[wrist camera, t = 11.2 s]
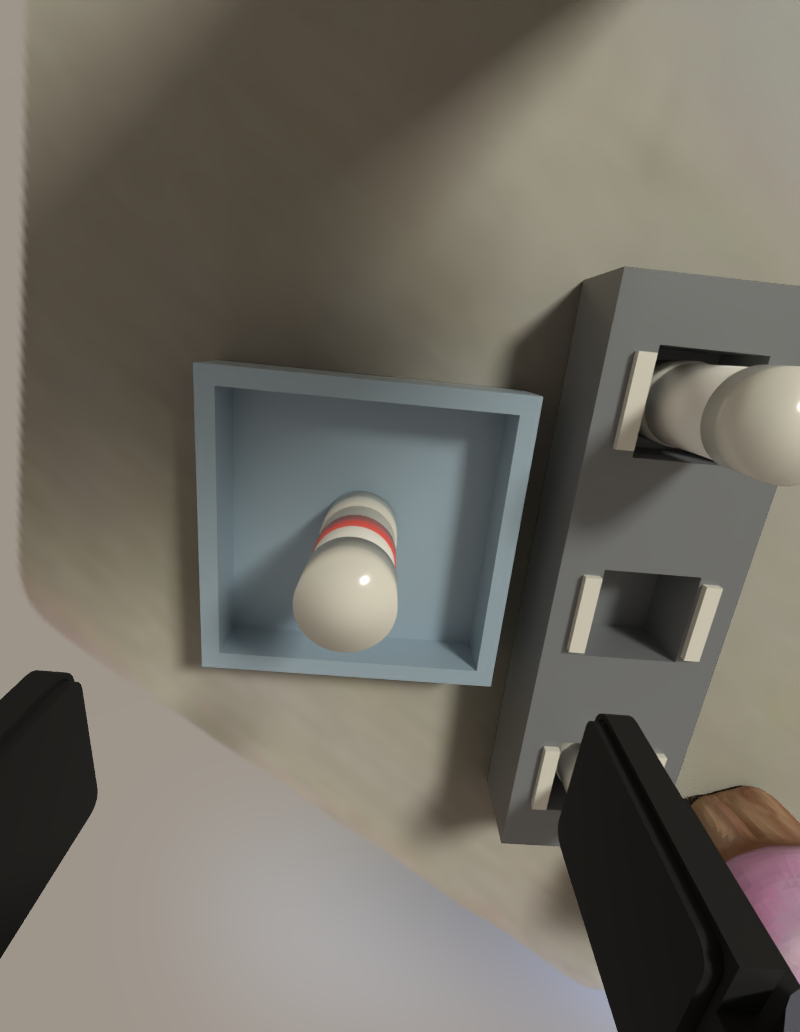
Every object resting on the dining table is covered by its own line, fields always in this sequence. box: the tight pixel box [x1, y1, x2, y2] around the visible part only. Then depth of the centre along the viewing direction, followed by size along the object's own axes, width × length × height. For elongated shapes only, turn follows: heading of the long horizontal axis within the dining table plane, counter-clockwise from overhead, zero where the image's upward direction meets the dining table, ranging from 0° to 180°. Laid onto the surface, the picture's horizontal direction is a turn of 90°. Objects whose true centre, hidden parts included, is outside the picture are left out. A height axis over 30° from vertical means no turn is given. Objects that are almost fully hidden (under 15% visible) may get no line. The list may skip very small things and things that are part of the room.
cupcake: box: [691, 786, 800, 984], centre depth 26 cm, size 9×9×10 cm
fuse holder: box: [487, 267, 800, 846], centre depth 24 cm, size 27×8×4 cm, turn 175°
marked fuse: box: [293, 491, 398, 653], centre depth 20 cm, size 3×3×8 cm
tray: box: [193, 360, 543, 687], centre depth 23 cm, size 14×14×3 cm
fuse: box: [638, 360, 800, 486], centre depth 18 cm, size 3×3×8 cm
